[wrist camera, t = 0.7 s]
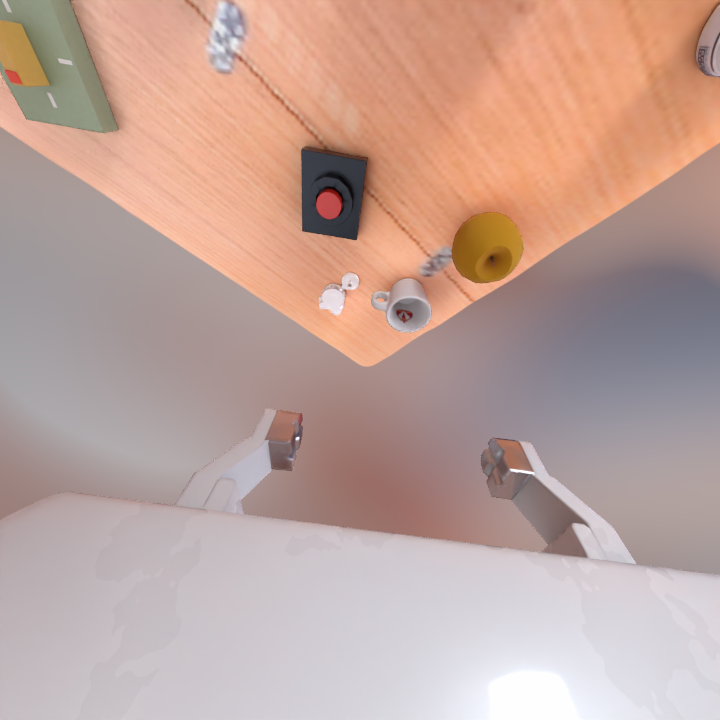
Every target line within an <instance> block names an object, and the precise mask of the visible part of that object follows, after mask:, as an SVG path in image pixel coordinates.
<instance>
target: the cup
mask: <svg viewBox="0 0 720 720" xmlns="http://www.w3.org/2000/svg"><path fill="white" fill-rule="evenodd" d="M377 298H382V299H384V300H385V301H386V302H378V301H377V300H376V299H377ZM371 303H372V306H373V307H374V308H376V309H378V310H382V311H385V312H386V319H387V321H388V323H389V325H390V326H391V327H392V328H394V329H395V330H398V331H401V332H414V331H417V330H420V329H421V328H423V327H424V326H425V325H426V324H427V323H428V322H429V320H430V318H431V314H432V310H431V306H430V303H429V301H428V298H427V295H426V293H425V290H424V288H423V286H422V285H421V284H420V283H419V282H418V281H417V280H414V279H410V278H406V279H402V280H399V281H398V282H396V283H395V284H394V285H393V287H392V288H391V290H390V292H383V291H377V292H375V293H374V294H373V295H372V298H371Z"/></svg>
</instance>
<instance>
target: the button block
mask: <svg viewBox="0 0 720 720" xmlns="http://www.w3.org/2000/svg"><path fill="white" fill-rule="evenodd" d="M301 153H302V231H305V232H311V233H317V234H323V235H329V236H335V237H341V238H347V239H353V240H357V235H358V228H359V220H360V212H361V205H362V197H363V189H364V181H365V173H366V165H367V158H366V157H360V156H355V155H349V154H344V153H338V152H333V151H327V150H322V149H316V148H310V147H304V148H303V149H302V150H301ZM325 189H334V190H335V191H337V192H338V193H339V194H340V196H341V198H342V208H341V211H340V213H339V215H338V216H337V217H336V218H334V219H326V218H324V217H322V216H321V215H320V214H319V212H318V211H317V208H316V201H317V198H318V196H319V194H320V193H321V192H322V191H323V190H325Z"/></svg>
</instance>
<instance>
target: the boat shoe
mask: <svg viewBox="0 0 720 720" xmlns="http://www.w3.org/2000/svg"><path fill="white" fill-rule="evenodd" d="M696 59H697V64H698V66H699V69H700V70H701V71H702V72H703V73H704V74H705V75H707V76H712V77H720V4H719V5H718V6H717V8H716V9H715V11H714V12H713V13H712V15H711V16H710V18H709V20H708V21H707V23H706V25H705V27H704V29H703V31H702V33H701V36H700V38H699V42H698V46H697V50H696Z"/></svg>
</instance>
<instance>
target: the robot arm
mask: <svg viewBox="0 0 720 720" xmlns="http://www.w3.org/2000/svg"><path fill="white" fill-rule="evenodd" d="M301 422H302V413H296V412H290V411H283V410H275V409H268V408H267V409H266V410H265V411H264V413H263V415H262V417H261V419H260V421H259V423H258V425H257V427H256V429H255V431H254V433H253V435H252V437H251V438H246V439H245V440H243V441H242V442H240V443H239V444H237V445H236V446H234V447H233V448H231V449H230V450H228V451H227V452H225V453H224V454H222V455H221V456H219V457H218V458H216V459H215V460H213V461H212V462H210V463H209V464H207V465H206V466H204V467H203V468H201V469H200V470H198V471H197V472H195V473H194V475H193V476H192V477H191V479H190V481H189V482H188V484H187V485H186V487H185V489H184V490H183V492H182V493H181V495H180V497H179V498H178V500H177V501H176V503H175V505H167V504H159V503H151V502H144V501H136V500H128V499H120V498H112V497H105V496H97V495H90V494H82V493H73V492H62V493H57V494H54V495H52V496H49V497H47V498H45V499H42V500H40V501H38V502H36V503H33V504H31V505H29V506H27V507H25V508H23V509H21V510H19V511H16V512H14V513H12V514H10V515H8V516H6V517H4V518H2V519H0V720H720V575H718V574H710V573H701V572H694V571H686V570H678V569H670V568H663V567H654V566H646V565H638V564H636V563H635V561H634V560H633V558H632V557H631V555H630V554H629V552H628V550H627V549H626V547H625V546H624V544H623V543H622V541H621V539H620V538H619V536H618V535H617V533H616V531H615V530H614V528H613V527H612V526H611V525H610V524H608V523H607V522H606V521H605V520H603V519H602V518H601V517H600V516H599V515H598V514H596V513H595V512H594V511H593V510H592V509H590V508H589V507H588V506H587V505H586V504H584V503H583V502H582V501H581V500H580V499H578V498H577V497H576V496H575V495H574V494H573V493H571V492H570V491H569V490H568V489H567V488H565V487H564V486H563V485H562V484H560V483H559V482H558V481H557V480H556V479H555V478H553V477H550V476H549V475H548V474H547V472H546V470H545V468H544V466H543V464H542V463H541V461H540V459H539V457H538V455H537V453H536V451H535V450H534V448H533V446H532V444H531V443H529V442H524V441H515V440H508V439H500V438H492V439H490V441H489V443H488V444H489V448H488V449H485V450H484V452H483V454H482V457H481V466H482V470H483V472H484V473H485V474H486V475H487V476H488V480H487V485H488V488H489V491H490V493H491V496H492V497H496V498H503V499H510V500H512V502H513V503H514V504H515V505H516V507H517V508H518V509H519V510H520V511H521V513H522V514H523V515H524V516H525V517H526V519H527V520H528V521H529V522H530V523H531V525H532V526H533V527H534V528H535V529H536V531H537V532H538V533H539V534H540V535H541V537H542V538H543V539H544V540H545V541H546V543H547V544H548V546H547V547H546V548H545V549H544V550H543V551H542V552H537V551H528V550H521V549H513V548H505V547H497V546H489V545H482V544H473V543H466V542H458V541H450V540H442V539H434V538H427V537H418V536H410V535H403V534H395V533H387V532H379V531H371V530H363V529H355V528H347V527H339V526H332V525H323V524H316V523H308V522H299V521H292V520H284V519H276V518H268V517H261V516H252V515H245V514H243V509H242V505H241V501H240V500H241V499H242V498H243V497H244V496H245V495H246V494H248V492H250V491H251V490H252V489H253V488H254V487H255V486H256V485H257V484H258V483H259V482H260V481H261V480H262V479H263V478H264V477H265V476H266V475H267V474H268V473H269V472H270V471H271V469H276V470H286V471H292V470H293V466H294V463H295V460H296V450H298V449H299V447H300V443H301V438H302V430H303V427H302V426H301Z"/></svg>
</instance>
